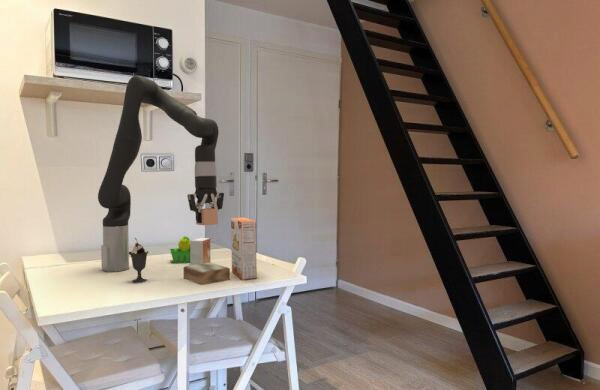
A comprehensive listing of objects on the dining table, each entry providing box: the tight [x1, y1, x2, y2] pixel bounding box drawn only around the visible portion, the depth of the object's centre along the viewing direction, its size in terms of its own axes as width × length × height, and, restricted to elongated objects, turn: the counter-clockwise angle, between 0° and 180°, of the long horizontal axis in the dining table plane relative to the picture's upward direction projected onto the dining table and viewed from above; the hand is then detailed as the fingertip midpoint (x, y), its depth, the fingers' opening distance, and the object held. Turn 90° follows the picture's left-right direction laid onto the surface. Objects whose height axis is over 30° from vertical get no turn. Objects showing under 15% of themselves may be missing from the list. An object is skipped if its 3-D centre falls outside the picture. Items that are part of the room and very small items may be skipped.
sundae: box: [129, 237, 150, 284], centre depth 154 cm, size 7×7×15 cm
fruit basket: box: [169, 235, 191, 264], centre depth 188 cm, size 11×9×11 cm
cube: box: [195, 207, 219, 227], centre depth 158 cm, size 6×6×6 cm
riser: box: [183, 261, 231, 286], centre depth 158 cm, size 11×13×4 cm
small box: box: [189, 237, 211, 265], centre depth 182 cm, size 8×6×10 cm
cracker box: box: [230, 216, 258, 281], centre depth 162 cm, size 14×6×21 cm, turn 23°
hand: (206, 222), depth 158 cm, fingers closed on cube, 5 cm apart
